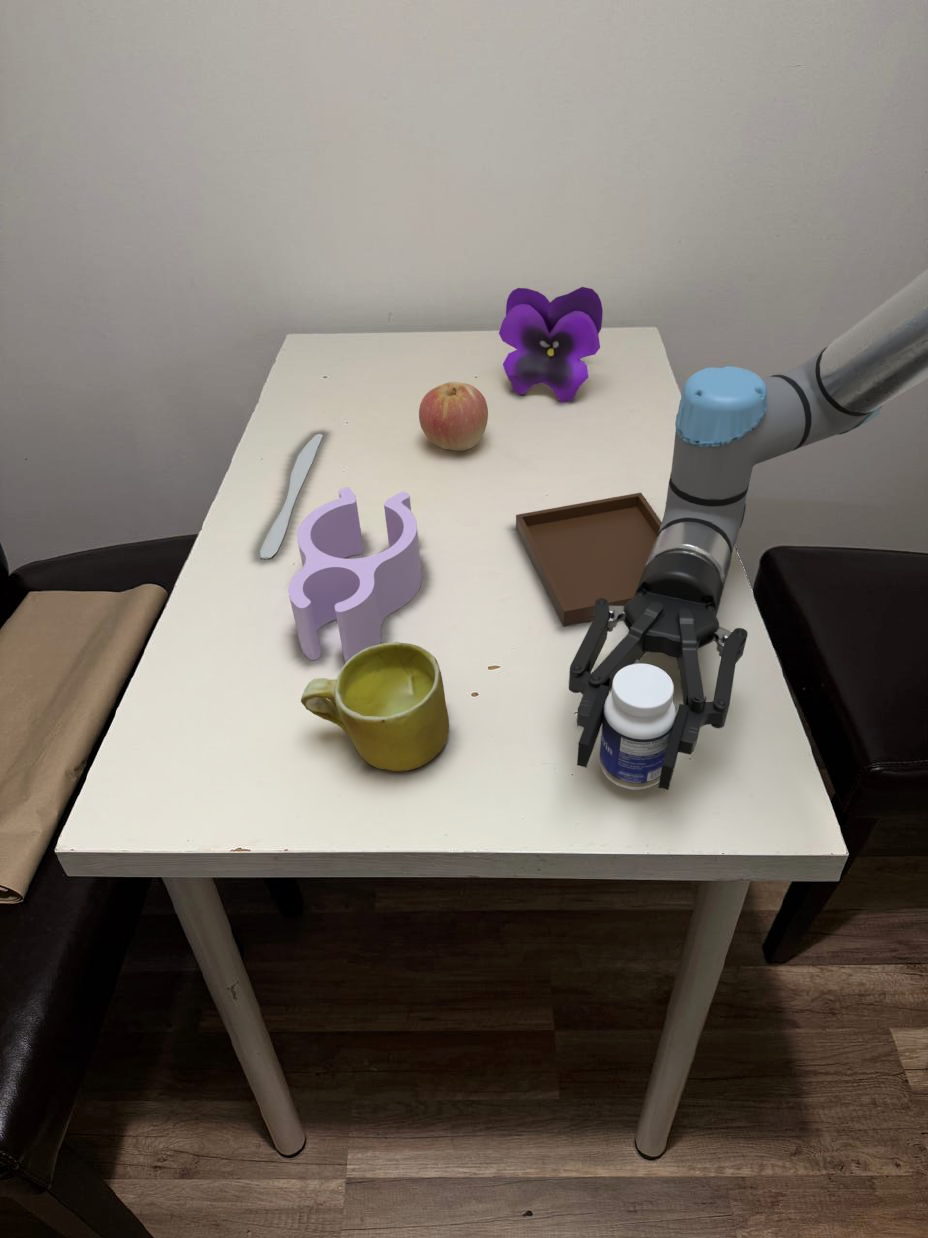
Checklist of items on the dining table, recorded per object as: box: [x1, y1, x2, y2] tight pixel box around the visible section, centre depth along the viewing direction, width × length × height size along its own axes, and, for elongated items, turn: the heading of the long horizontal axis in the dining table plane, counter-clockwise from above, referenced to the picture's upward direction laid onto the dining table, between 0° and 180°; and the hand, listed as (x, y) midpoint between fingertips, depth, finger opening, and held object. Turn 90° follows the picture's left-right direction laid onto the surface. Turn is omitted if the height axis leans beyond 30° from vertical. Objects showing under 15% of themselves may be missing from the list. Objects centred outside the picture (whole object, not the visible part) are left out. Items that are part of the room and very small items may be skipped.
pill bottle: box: [598, 663, 677, 791], centre depth 72 cm, size 6×6×10 cm
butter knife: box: [259, 433, 324, 560], centre depth 111 cm, size 1×27×3 cm
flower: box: [498, 286, 604, 403], centre depth 127 cm, size 15×15×14 cm
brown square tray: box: [515, 492, 662, 627], centre depth 97 cm, size 17×15×2 cm
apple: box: [418, 381, 489, 451], centre depth 115 cm, size 9×9×8 cm
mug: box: [300, 641, 450, 772], centre depth 78 cm, size 12×10×10 cm
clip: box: [287, 487, 423, 664], centre depth 93 cm, size 20×12×7 cm, turn 169°
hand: (623, 766), depth 68 cm, fingers closed on pill bottle, 6 cm apart
